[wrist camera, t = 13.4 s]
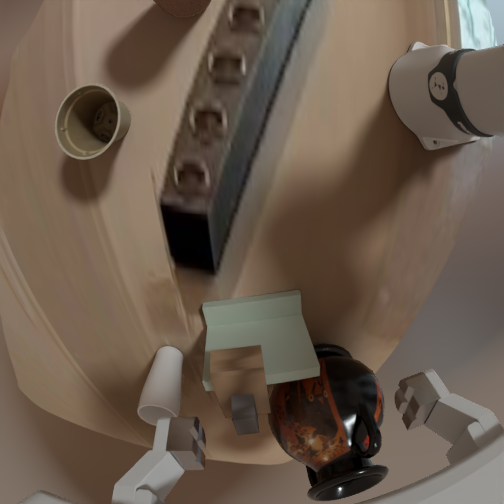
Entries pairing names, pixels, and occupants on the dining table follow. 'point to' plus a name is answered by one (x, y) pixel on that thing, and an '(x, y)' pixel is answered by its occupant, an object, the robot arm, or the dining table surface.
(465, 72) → the robot arm
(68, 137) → the flower pot
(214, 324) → the board
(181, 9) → the coffee cup
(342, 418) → the amphora vase
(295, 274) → the dining table surface
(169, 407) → the drinking glass
